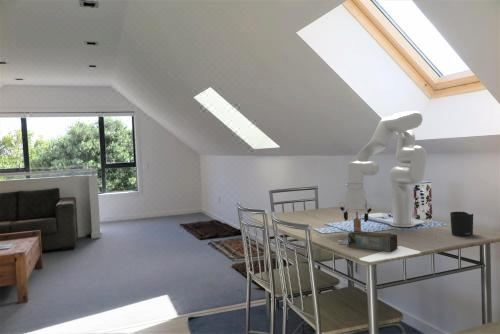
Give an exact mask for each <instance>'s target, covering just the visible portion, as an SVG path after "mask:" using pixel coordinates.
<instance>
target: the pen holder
mask: <svg viewBox="0 0 500 334" xmlns="http://www.w3.org/2000/svg"><path fill="white" fill-rule="evenodd" d="M450 229H451V230H450V231H451V235H453V236H456V237H472V236H473V235H474V213H468V212H465V211H450Z"/></svg>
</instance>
